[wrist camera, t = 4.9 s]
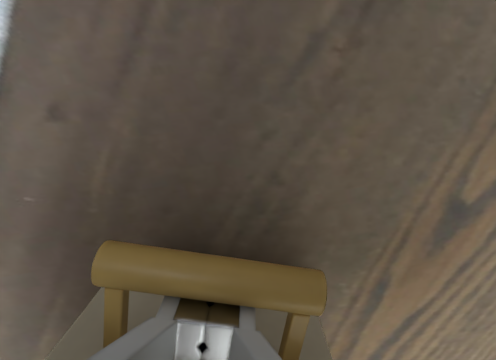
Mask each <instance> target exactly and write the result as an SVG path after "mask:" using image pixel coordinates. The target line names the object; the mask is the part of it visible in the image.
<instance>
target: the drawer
mask: <svg viewBox="0 0 496 360" xmlns="http://www.w3.org/2000/svg"><path fill="white" fill-rule="evenodd" d="M91 281H92V283H93V285H95V286H98V287H102V288H101V289H100V290H99V291H98V293H97V294H96V295H95V296H94V298H93V299H92V300H91V302H90V303H89V304H88V305H87V307H86V308H85V309H84V310H83V312H82V313H81V314H80V315H79V317H78V318H77V319H76V320H75V322H74V323H73V324H72V326H71V327H70V328H69V329H68V331H67V332H66V333H65V334H64V336H63V337H62V338H61V339H60V341H59V342H58V343H57V345H56V346H55V347H54V348H53V350H52V351H51V352H50V353H49V355H48V356H47V357H46V358H45V360H86V359H88V358H90V357H91V356H93V355H94V354H96V353H97V352H99V351H100V350H102V349H103V348H105V347H106V346H108V345H109V344H111V343H112V342H114V341H115V340H117V339H118V338H120V337H121V336H123V335H124V334H126V333H127V332H129V331H130V330H132V329H134V328H135V327H137V326H138V325H140V324H141V323H143V322H144V321H146V320H147V319H149V318H150V317H156V315H157V313H158V310H159V308H160V306H161V303H162V301H163V299H164V297H165V296H172V297H179V298H187V299H194V300H202V301H209V302H216V303H224V304H231V305H238V306H246V307H253V308H255V313H256V331H261V333H262V334H263V335H264V337H265V338H266V339H267V340H268V342H269V343H270V344H271V346H272V347H273V348H274V350H275V351H276V352H277V353H278V355H279V356H280V357H281V359H282V360H332V357H331V354H330V351H329V348H328V345H327V342H326V338H325V335H324V332H323V329H322V326H321V323H320V320H319V317H318V316H321V315H322V314H323V312H324V309H325V305H326V300H327V284H326V278H325V275H324V273H323V272H322V271H321V270H316V269H309V268H302V267H295V266H288V265H281V264H274V263H267V262H260V261H253V260H246V259H239V258H232V257H225V256H218V255H211V254H204V253H197V252H190V251H183V250H176V249H169V248H162V247H155V246H148V245H141V244H134V243H127V242H120V241H113V240H108V241H105V242H104V243H103V244H102V245H101V246H100V248H99V249H98V251H97V253H96V255H95V258H94V261H93V264H92V269H91Z"/></svg>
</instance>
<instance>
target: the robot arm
mask: <svg viewBox="0 0 496 360" xmlns="http://www.w3.org/2000/svg"><path fill="white" fill-rule="evenodd" d="M86 360H282V359H281V357H280V356H279V355H278V353H277V352H276V351H275V350H274V348H273V347H272V346H271V344H270V343H269V342H268V340H267V339H266V338H265V337H264V335H263V334H262V333H261V331H256V313H255V308H253V307H246V306H238V305H231V304H224V303H216V302H209V301H202V300H194V299H187V298H179V297H172V296H165V297H164V299H163V301H162V303H161V306H160V308H159V310H158V313H157V315H156V317H150V318H149V319H147V320H146V321H144V322H143V323H141V324H140V325H138V326H137V327H135V328H134V329H132V330H130V331H129V332H127V333H126V334H124V335H123V336H121V337H120V338H118V339H117V340H115V341H114V342H112V343H111V344H109V345H108V346H106V347H105V348H103V349H102V350H100V351H99V352H97V353H96V354H94V355H93V356H91V357H90V358H88V359H86Z"/></svg>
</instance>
